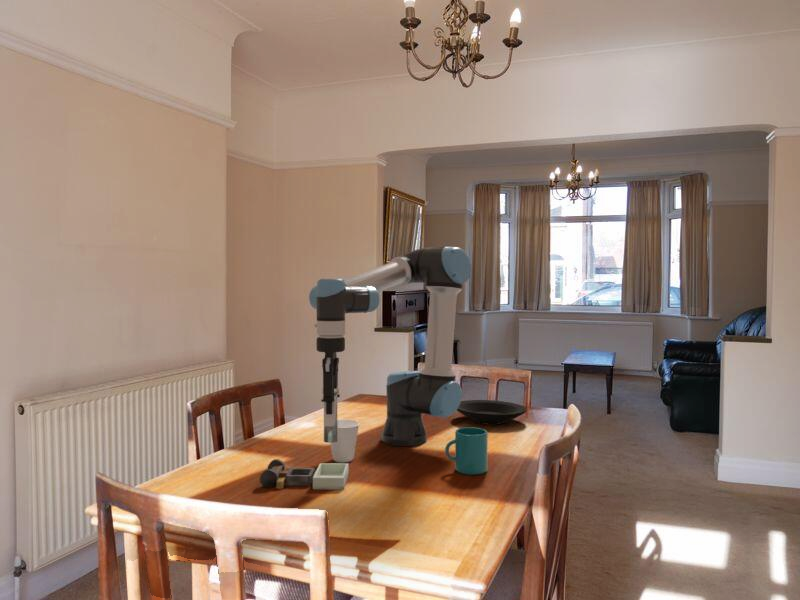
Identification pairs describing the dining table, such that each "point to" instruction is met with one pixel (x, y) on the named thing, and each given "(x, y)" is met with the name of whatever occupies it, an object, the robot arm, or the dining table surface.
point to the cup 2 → (469, 450)
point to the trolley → (286, 475)
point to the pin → (331, 431)
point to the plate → (490, 411)
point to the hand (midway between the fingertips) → (330, 423)
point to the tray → (331, 476)
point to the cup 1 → (345, 441)
